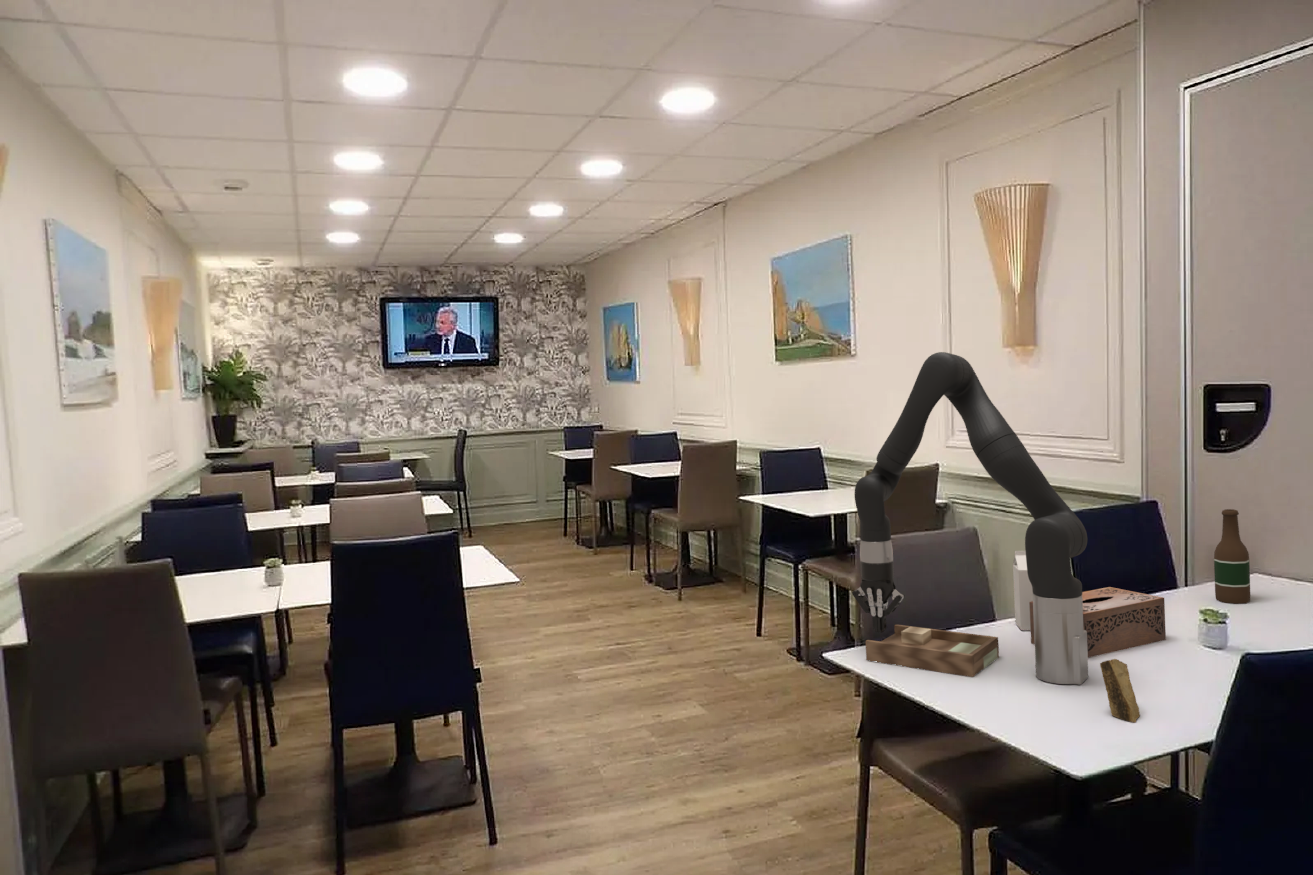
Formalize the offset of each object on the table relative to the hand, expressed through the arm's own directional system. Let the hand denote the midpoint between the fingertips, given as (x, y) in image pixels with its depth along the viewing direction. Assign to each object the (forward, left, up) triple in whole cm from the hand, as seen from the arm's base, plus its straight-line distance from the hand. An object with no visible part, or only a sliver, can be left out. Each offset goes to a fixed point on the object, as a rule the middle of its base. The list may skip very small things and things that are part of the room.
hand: (879, 631), depth 209 cm
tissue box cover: (-41, -26, -4) cm, 49 cm away
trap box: (-14, +4, -4) cm, 15 cm away
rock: (-56, +17, -4) cm, 59 cm away
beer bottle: (-61, -80, -4) cm, 101 cm away
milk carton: (-25, -32, -4) cm, 41 cm away
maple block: (-9, 0, -1) cm, 9 cm away
